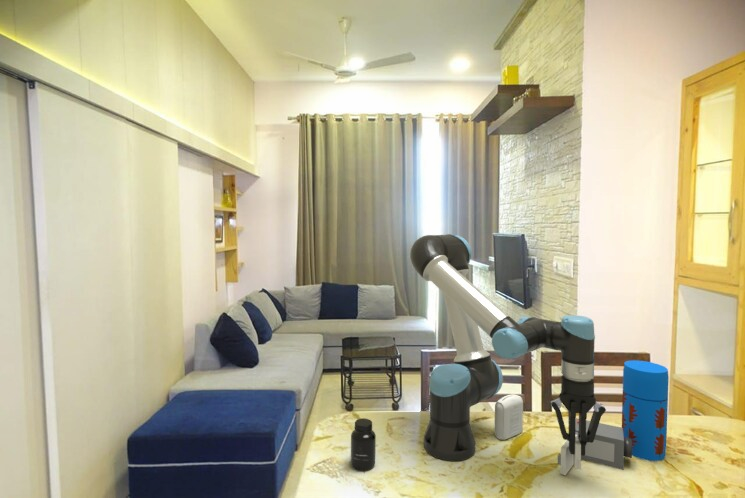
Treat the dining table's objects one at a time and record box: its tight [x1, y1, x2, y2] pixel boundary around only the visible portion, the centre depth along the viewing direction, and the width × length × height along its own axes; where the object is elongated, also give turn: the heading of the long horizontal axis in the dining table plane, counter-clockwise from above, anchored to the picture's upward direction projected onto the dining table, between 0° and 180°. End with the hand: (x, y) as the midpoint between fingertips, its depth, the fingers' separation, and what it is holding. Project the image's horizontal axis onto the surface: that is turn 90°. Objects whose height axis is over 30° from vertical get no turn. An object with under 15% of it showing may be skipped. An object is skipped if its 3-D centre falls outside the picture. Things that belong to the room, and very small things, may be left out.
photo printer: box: [494, 394, 524, 441], centre depth 126 cm, size 10×4×12 cm, turn 123°
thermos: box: [621, 359, 670, 462], centre depth 116 cm, size 11×11×25 cm
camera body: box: [575, 417, 633, 471], centre depth 113 cm, size 15×8×9 cm, turn 61°
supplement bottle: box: [350, 417, 377, 472], centre depth 110 cm, size 7×7×12 cm
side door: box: [556, 432, 578, 476], centre depth 109 cm, size 11×2×8 cm, turn 137°
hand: (576, 466), depth 104 cm, fingers closed
